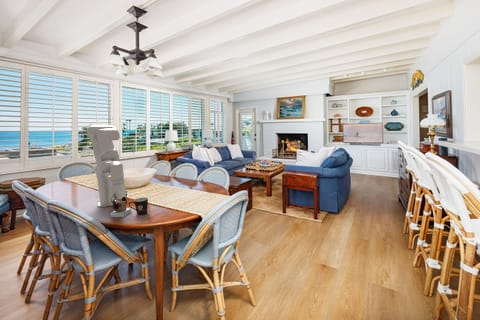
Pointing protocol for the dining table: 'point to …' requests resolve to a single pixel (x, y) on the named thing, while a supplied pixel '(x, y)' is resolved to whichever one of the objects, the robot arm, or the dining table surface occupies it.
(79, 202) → the dining table surface
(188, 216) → the dining table surface
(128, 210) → the trivet
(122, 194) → the robot arm
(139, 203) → the coffee mug
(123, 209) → the walnut block
